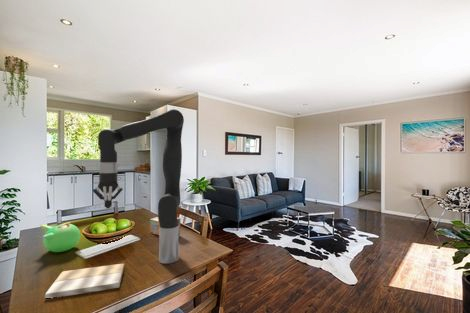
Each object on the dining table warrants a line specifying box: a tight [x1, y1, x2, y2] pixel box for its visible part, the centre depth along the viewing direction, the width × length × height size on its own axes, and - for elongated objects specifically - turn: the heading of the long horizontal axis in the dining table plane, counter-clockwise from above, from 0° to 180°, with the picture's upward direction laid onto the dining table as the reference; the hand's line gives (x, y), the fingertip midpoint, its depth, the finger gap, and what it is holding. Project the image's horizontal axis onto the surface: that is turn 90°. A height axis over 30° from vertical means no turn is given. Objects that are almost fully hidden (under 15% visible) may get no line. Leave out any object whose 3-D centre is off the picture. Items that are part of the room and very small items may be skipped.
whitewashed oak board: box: [44, 272, 123, 299], centre depth 89 cm, size 24×8×2 cm, turn 110°
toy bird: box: [39, 222, 81, 253], centre depth 121 cm, size 18×17×15 cm
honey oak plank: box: [54, 263, 125, 282], centre depth 97 cm, size 24×8×2 cm, turn 110°
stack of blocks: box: [149, 216, 182, 238], centre depth 147 cm, size 21×6×12 cm, turn 61°
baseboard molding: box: [75, 234, 141, 260], centre depth 127 cm, size 31×3×12 cm
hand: (108, 207), depth 107 cm, fingers closed
